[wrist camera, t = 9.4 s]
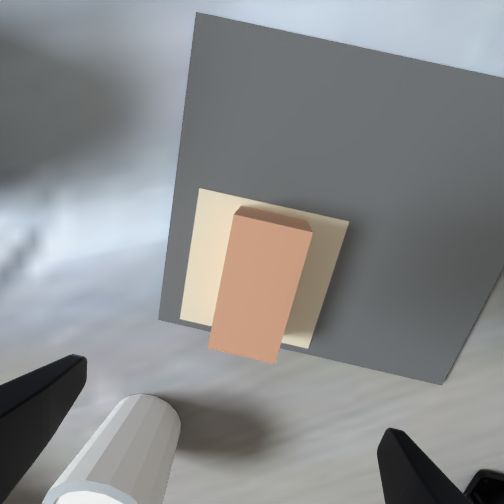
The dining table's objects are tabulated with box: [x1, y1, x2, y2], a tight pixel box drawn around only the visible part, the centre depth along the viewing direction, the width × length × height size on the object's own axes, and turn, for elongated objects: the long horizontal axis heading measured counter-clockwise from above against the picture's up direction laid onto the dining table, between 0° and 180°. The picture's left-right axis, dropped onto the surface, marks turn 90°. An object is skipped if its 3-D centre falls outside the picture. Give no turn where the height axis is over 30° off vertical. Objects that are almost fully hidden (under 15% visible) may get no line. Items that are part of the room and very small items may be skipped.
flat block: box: [208, 206, 313, 364], centre depth 17 cm, size 8×4×3 cm, turn 168°
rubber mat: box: [158, 12, 504, 385], centre depth 17 cm, size 20×18×1 cm
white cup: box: [42, 394, 181, 504], centre depth 20 cm, size 7×7×7 cm
